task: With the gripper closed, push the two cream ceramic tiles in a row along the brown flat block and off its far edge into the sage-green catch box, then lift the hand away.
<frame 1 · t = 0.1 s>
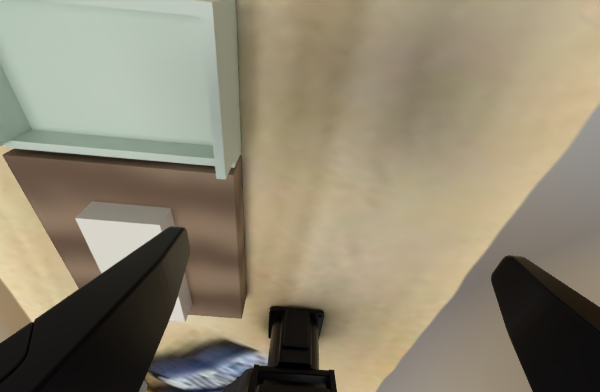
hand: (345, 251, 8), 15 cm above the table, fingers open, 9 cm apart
catch box: (120, 75, 20), on the table
brown flat block: (161, 230, 28), on the table
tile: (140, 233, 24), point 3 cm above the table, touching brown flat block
brown rock: (256, 385, 48), on the table
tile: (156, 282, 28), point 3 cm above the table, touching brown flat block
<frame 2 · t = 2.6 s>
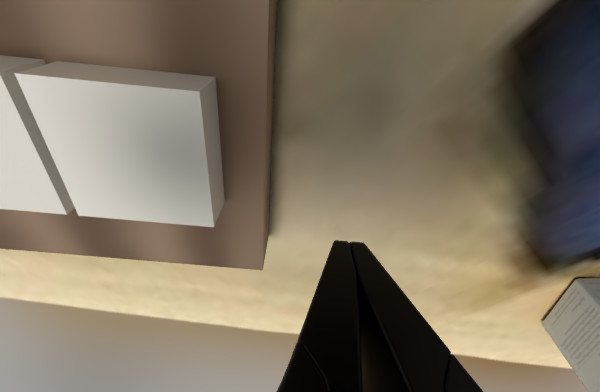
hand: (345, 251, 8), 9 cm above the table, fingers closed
brown flat block: (101, 109, 15), on the table
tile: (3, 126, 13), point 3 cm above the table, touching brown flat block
skincare box: (578, 297, 23), on the table
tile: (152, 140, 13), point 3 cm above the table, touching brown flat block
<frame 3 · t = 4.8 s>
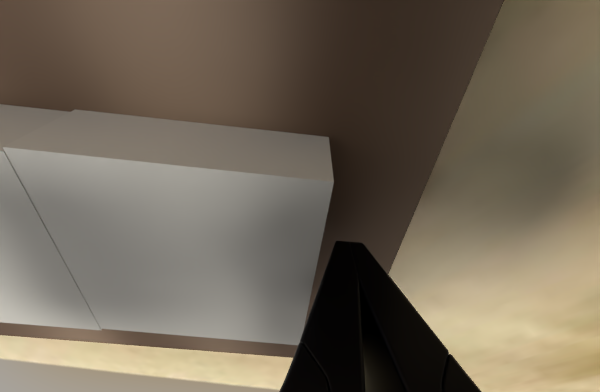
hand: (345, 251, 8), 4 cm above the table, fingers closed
brown flat block: (149, 160, 11), on the table
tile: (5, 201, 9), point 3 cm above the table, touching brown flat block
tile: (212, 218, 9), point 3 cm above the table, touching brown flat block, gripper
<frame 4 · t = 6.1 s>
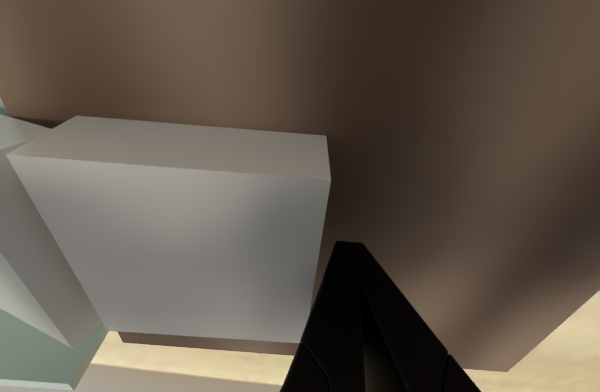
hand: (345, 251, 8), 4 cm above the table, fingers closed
brown flat block: (345, 178, 11), on the table
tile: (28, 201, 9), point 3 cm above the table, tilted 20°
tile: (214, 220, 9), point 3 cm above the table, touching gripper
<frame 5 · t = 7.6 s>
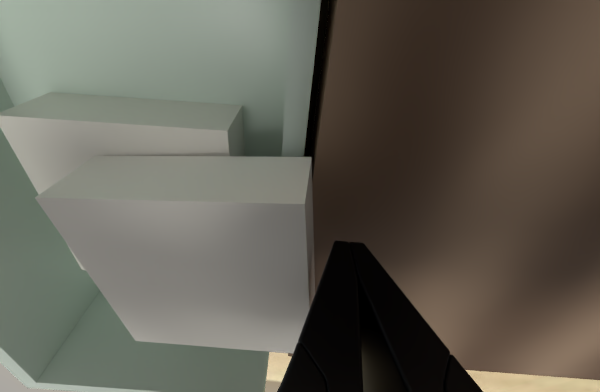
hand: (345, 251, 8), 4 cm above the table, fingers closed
catch box: (169, 162, 11), on the table
brown flat block: (533, 197, 12), on the table
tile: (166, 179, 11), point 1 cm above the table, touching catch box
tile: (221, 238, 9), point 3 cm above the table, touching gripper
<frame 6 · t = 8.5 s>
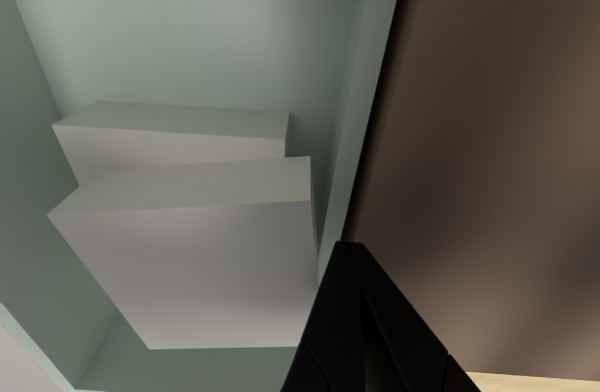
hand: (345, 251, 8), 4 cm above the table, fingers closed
catch box: (208, 169, 11), on the table
brown flat block: (570, 202, 12), on the table
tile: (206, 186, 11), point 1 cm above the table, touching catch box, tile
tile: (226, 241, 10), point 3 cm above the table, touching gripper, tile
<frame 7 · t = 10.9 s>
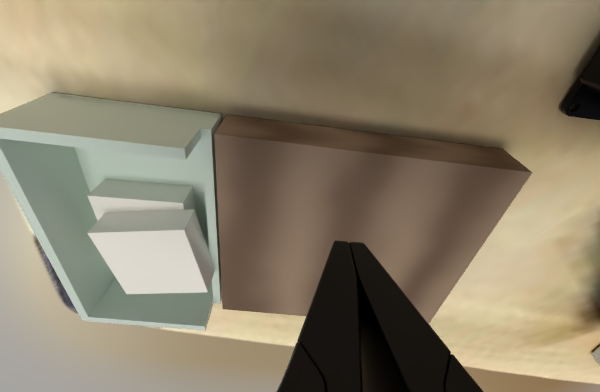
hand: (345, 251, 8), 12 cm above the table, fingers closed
catch box: (158, 206, 22), on the table
brown flat block: (342, 226, 23), on the table
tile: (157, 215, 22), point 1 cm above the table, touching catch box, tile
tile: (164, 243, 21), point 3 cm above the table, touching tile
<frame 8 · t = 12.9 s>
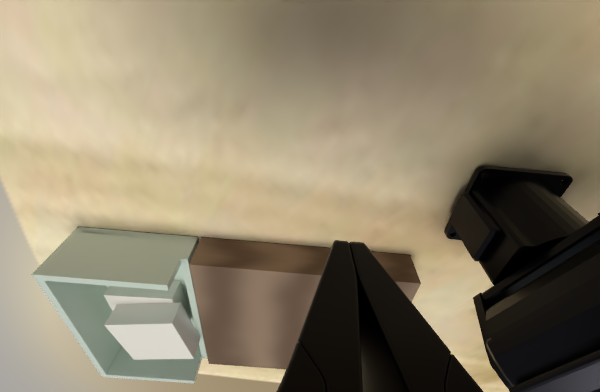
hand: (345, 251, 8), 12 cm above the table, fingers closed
catch box: (156, 290, 29), on the table
brown flat block: (298, 301, 30), on the table
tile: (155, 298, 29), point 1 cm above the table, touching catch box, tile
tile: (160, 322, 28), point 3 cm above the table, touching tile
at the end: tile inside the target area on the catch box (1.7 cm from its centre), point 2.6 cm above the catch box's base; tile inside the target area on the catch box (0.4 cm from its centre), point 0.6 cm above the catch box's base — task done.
